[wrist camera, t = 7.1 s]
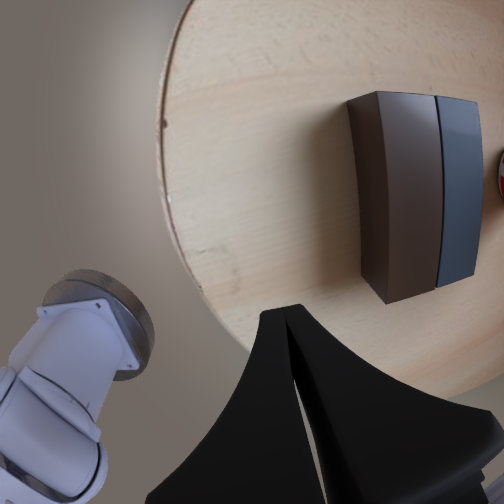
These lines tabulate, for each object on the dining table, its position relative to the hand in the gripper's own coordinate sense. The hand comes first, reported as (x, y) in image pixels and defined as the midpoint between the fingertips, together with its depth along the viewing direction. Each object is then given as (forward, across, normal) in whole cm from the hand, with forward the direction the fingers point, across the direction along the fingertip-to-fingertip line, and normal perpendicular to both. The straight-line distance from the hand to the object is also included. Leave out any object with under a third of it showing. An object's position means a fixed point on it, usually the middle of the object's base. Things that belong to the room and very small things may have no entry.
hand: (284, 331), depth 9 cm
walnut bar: (+9, -9, -2) cm, 13 cm away
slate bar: (+9, -13, -2) cm, 16 cm away
